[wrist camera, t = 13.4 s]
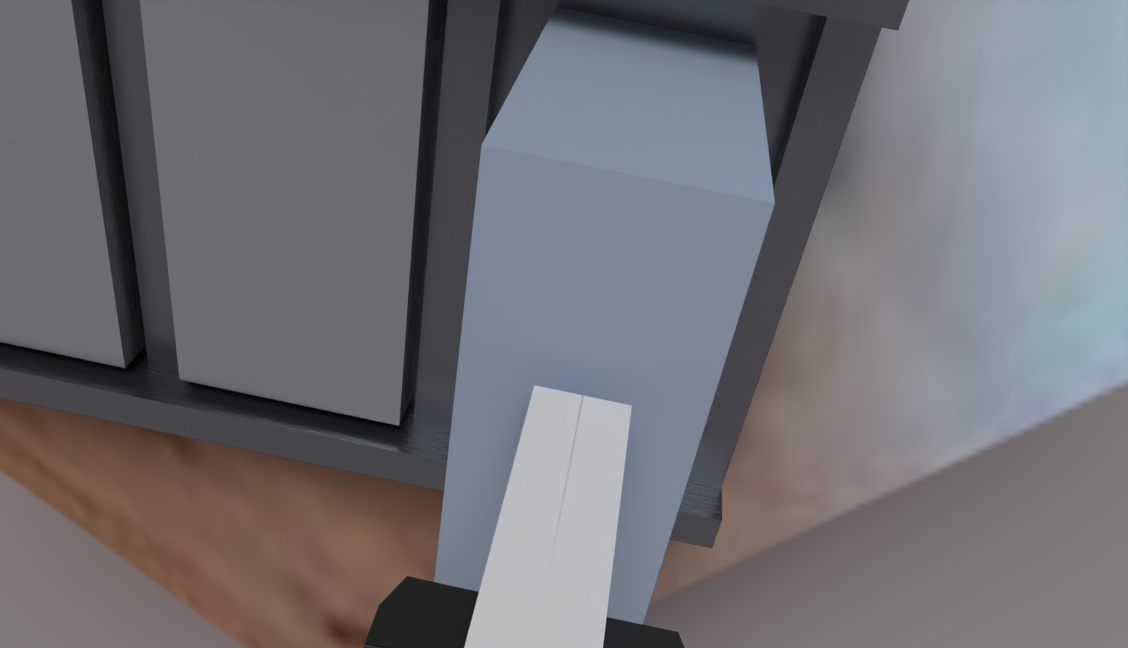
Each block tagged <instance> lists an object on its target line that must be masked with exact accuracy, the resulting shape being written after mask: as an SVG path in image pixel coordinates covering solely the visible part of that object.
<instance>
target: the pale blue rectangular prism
mask: <svg viewBox="0 0 1128 648" xmlns="http://www.w3.org/2000/svg"><path fill="white" fill-rule="evenodd" d="M774 205H775V200H774V192H773V183H772V175H771V167H770V159H769V151H768V143H767V134H766V126H765V118H764V110H763V102H762V94H761V85H760V77H759V69H758V61H757V53H756V46H754V45H749V44H744V43H739V42H733V41H728V40H723V39H718V38H713V37H708V36H703V35H697V34H692V33H687V32H682V31H677V30H672V29H667V28H661V27H656V26H651V25H646V24H641V23H636V22H630V21H625V20H620V19H615V18H610V17H605V16H600V15H594V14H589V13H584V12H579V11H574V10H569V9H564V8H558V7H555V9H554V11H553V13H552V14H551V16H550V18H549V20H548V22H547V24H546V26H545V27H544V29H543V31H542V33H541V35H540V37H539V39H538V41H537V42H536V44H535V46H534V48H533V50H532V52H531V54H530V55H529V57H528V59H527V61H526V63H525V65H524V67H523V68H522V70H521V72H520V74H519V76H518V78H517V80H516V82H515V83H514V85H513V87H512V89H511V91H510V93H509V95H508V96H507V98H506V100H505V102H504V104H503V106H502V108H501V109H500V111H499V113H498V115H497V117H496V119H495V121H494V123H493V124H492V126H491V128H490V130H489V132H488V134H487V136H486V137H485V139H484V141H483V143H482V145H481V154H480V164H479V173H478V182H477V191H476V201H475V210H474V219H473V228H472V238H471V247H470V256H469V265H468V275H467V284H466V293H465V302H464V312H463V321H462V330H461V339H460V349H459V358H458V367H457V376H456V386H455V395H454V404H453V414H452V423H451V432H450V441H449V451H448V460H447V469H446V478H445V488H444V497H443V506H442V515H441V525H440V534H439V543H438V552H437V562H436V571H435V580H434V582H436V583H441V584H445V585H450V586H455V587H459V588H464V589H469V590H473V591H478V592H479V590H480V587H481V583H482V579H483V575H484V572H485V568H486V564H487V560H488V557H489V553H490V549H491V545H492V542H493V538H494V534H495V530H496V527H497V523H498V519H499V515H500V512H501V508H502V504H503V500H504V497H505V493H506V489H507V486H508V482H509V478H510V474H511V471H512V467H513V463H514V459H515V456H516V452H517V448H518V444H519V441H520V437H521V433H522V429H523V426H524V422H525V418H526V414H527V411H528V407H529V403H530V399H531V396H532V392H533V388H534V385H536V386H540V387H545V388H550V389H555V390H560V391H564V392H569V393H574V394H579V395H584V396H588V397H593V398H598V399H603V400H608V401H612V402H617V403H622V404H627V405H632V408H631V416H630V425H629V433H628V442H627V450H626V458H625V467H624V475H623V484H622V492H621V500H620V509H619V517H618V525H617V534H616V542H615V551H614V559H613V567H612V576H611V584H610V593H609V601H608V609H607V617H609V618H614V619H619V620H623V621H628V622H633V623H637V624H642V625H643V621H644V618H645V615H646V612H647V609H648V606H649V602H650V599H651V596H652V593H653V590H654V586H655V583H656V580H657V577H658V574H659V571H660V567H661V564H662V561H663V558H664V555H665V551H666V548H667V545H668V542H669V539H670V536H671V532H672V529H673V526H674V523H675V520H676V516H677V513H678V510H679V507H680V504H681V501H682V497H683V494H684V491H685V488H686V485H687V481H688V478H689V475H690V472H691V469H692V466H693V462H694V459H695V456H696V453H697V450H698V446H699V443H700V440H701V437H702V434H703V431H704V427H705V424H706V421H707V418H708V415H709V411H710V408H711V405H712V402H713V399H714V396H715V392H716V389H717V386H718V383H719V380H720V376H721V373H722V370H723V367H724V364H725V361H726V357H727V354H728V351H729V348H730V345H731V341H732V338H733V335H734V332H735V329H736V325H737V322H738V319H739V316H740V313H741V310H742V306H743V303H744V300H745V297H746V294H747V290H748V287H749V284H750V281H751V278H752V275H753V271H754V268H755V265H756V262H757V259H758V255H759V252H760V249H761V246H762V243H763V240H764V236H765V233H766V230H767V227H768V224H769V220H770V217H771V214H772V211H773V208H774Z"/></svg>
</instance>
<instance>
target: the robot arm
mask: <svg viewBox="0 0 1128 648" xmlns="http://www.w3.org/2000/svg"><path fill="white" fill-rule="evenodd" d="M631 408H632V405H627V404H622V403H617V402H612V401H608V400H603V399H598V398H593V397H588V396H584V395H579V394H574V393H569V392H564V391H560V390H555V389H550V388H545V387H540V386H536V385H534V388H533V392H532V396H531V399H530V403H529V407H528V411H527V414H526V418H525V422H524V426H523V429H522V433H521V437H520V441H519V444H518V448H517V452H516V456H515V459H514V463H513V467H512V471H511V474H510V478H509V482H508V486H507V489H506V493H505V497H504V500H503V504H502V508H501V512H500V515H499V519H498V523H497V527H496V530H495V534H494V538H493V542H492V545H491V549H490V553H489V557H488V560H487V564H486V568H485V572H484V575H483V579H482V583H481V587H480V590H479V592H478V591H473V590H469V589H464V588H459V587H455V586H450V585H445V584H441V583H436V582H431V581H427V580H422V579H417V578H413V577H408V576H407V577H406V578H405V579H404V580H403V581H402V582H401V583H400V584H399V585H398V586H397V587H396V588H395V589H394V590H393V591H392V592H391V593H390V595H389V596H388V597H387V598H386V599H385V600H384V601H383V602H382V603H381V604H380V605H379V607H378V610H377V612H376V615H375V618H374V620H373V623H372V626H371V628H370V631H369V634H368V636H367V639H366V642H365V646H364V648H684V646H683V643H682V641H681V638H680V636H679V633H678V632H675V631H670V630H665V629H660V628H656V627H651V626H647V625H642V624H637V623H633V622H628V621H623V620H619V619H614V618H609V617H607V609H608V601H609V593H610V584H611V576H612V567H613V559H614V551H615V542H616V534H617V525H618V517H619V509H620V500H621V492H622V484H623V475H624V467H625V458H626V450H627V442H628V433H629V425H630V416H631Z"/></svg>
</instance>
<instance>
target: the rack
mask: <svg viewBox="0 0 1128 648" xmlns="http://www.w3.org/2000/svg"><path fill="white" fill-rule="evenodd" d="M908 1H909V0H0V398H5V399H9V400H14V401H19V402H23V403H28V404H33V405H38V406H42V407H47V408H52V409H56V410H61V411H66V412H71V413H75V414H80V415H85V416H90V417H94V418H99V419H104V420H108V421H113V422H118V423H123V424H127V425H132V426H137V427H142V428H146V429H151V430H156V431H160V432H165V433H170V434H175V435H179V436H184V437H189V438H193V439H198V440H203V441H208V442H212V443H217V444H222V445H227V446H231V447H236V448H241V449H245V450H250V451H255V452H260V453H264V454H269V455H274V456H279V457H283V458H288V459H293V460H297V461H302V462H307V463H312V464H316V465H321V466H326V467H330V468H335V469H340V470H345V471H349V472H354V473H359V474H364V475H368V476H373V477H378V478H382V479H387V480H392V481H397V482H401V483H406V484H411V485H416V486H420V487H425V488H430V489H434V490H439V491H444V488H445V478H446V469H447V460H448V451H449V441H450V432H451V423H452V414H453V404H454V395H455V386H456V376H457V367H458V358H459V349H460V339H461V330H462V321H463V312H464V302H465V293H466V284H467V275H468V265H469V256H470V247H471V238H472V228H473V219H474V210H475V201H476V191H477V182H478V173H479V164H480V154H481V145H482V143H483V141H484V139H485V137H486V136H487V134H488V132H489V130H490V128H491V126H492V124H493V123H494V121H495V119H496V117H497V115H498V113H499V111H500V109H501V108H502V106H503V104H504V102H505V100H506V98H507V96H508V95H509V93H510V91H511V89H512V87H513V85H514V83H515V82H516V80H517V78H518V76H519V74H520V72H521V70H522V68H523V67H524V65H525V63H526V61H527V59H528V57H529V55H530V54H531V52H532V50H533V48H534V46H535V44H536V42H537V41H538V39H539V37H540V35H541V33H542V31H543V29H544V27H545V26H546V24H547V22H548V20H549V18H550V16H551V14H552V13H553V11H554V9H555V7H558V8H564V9H569V10H574V11H579V12H584V13H589V14H594V15H600V16H605V17H610V18H615V19H620V20H625V21H630V22H636V23H641V24H646V25H651V26H656V27H661V28H667V29H672V30H677V31H682V32H687V33H692V34H697V35H703V36H708V37H713V38H718V39H723V40H728V41H733V42H739V43H744V44H749V45H754V46H756V53H757V61H758V69H759V77H760V85H761V94H762V102H763V110H764V118H765V126H766V134H767V143H768V151H769V159H770V167H771V175H772V183H773V192H774V200H775V205H774V208H773V211H772V214H771V217H770V220H769V224H768V227H767V230H766V233H765V236H764V240H763V243H762V246H761V249H760V252H759V255H758V259H757V262H756V265H755V268H754V271H753V275H752V278H751V281H750V284H749V287H748V290H747V294H746V297H745V300H744V303H743V306H742V310H741V313H740V316H739V319H738V322H737V325H736V329H735V332H734V335H733V338H732V341H731V345H730V348H729V351H728V354H727V357H726V361H725V364H724V367H723V370H722V373H721V376H720V380H719V383H718V386H717V389H716V392H715V396H714V399H713V402H712V405H711V408H710V411H709V415H708V418H707V421H706V424H705V427H704V431H703V434H702V437H701V440H700V443H699V446H698V450H697V453H696V456H695V459H694V462H693V466H692V469H691V472H690V475H689V478H688V481H687V485H686V488H685V491H684V494H683V497H682V501H681V504H680V507H679V510H678V513H677V516H676V520H675V523H674V526H673V529H672V532H671V536H670V539H671V540H675V541H680V542H685V543H690V544H694V545H699V546H704V547H708V548H712V546H713V543H714V541H715V538H716V535H717V532H718V530H719V527H720V524H721V521H722V488H721V486H722V483H723V480H724V477H725V475H726V472H727V469H728V466H729V463H730V460H731V457H732V455H733V452H734V449H735V446H736V443H737V440H738V437H739V435H740V432H741V429H742V426H743V423H744V420H745V417H746V414H747V412H748V409H749V406H750V403H751V400H752V397H753V394H754V392H755V389H756V386H757V383H758V380H759V377H760V374H761V371H762V369H763V366H764V363H765V360H766V357H767V354H768V351H769V349H770V346H771V343H772V340H773V337H774V334H775V331H776V328H777V326H778V323H779V320H780V317H781V314H782V311H783V308H784V306H785V303H786V300H787V297H788V294H789V291H790V288H791V286H792V283H793V280H794V277H795V274H796V271H797V268H798V265H799V263H800V260H801V257H802V254H803V251H804V248H805V245H806V243H807V240H808V237H809V234H810V231H811V228H812V225H813V222H814V220H815V217H816V214H817V211H818V208H819V205H820V202H821V200H822V197H823V194H824V191H825V188H826V185H827V182H828V179H829V177H830V174H831V171H832V168H833V165H834V162H835V159H836V157H837V154H838V151H839V148H840V145H841V142H842V139H843V137H844V134H845V131H846V128H847V125H848V122H849V119H850V116H851V114H852V111H853V108H854V105H855V102H856V99H857V96H858V94H859V91H860V88H861V85H862V82H863V79H864V76H865V73H866V71H867V68H868V65H869V62H870V59H871V56H872V53H873V51H874V48H875V45H876V42H877V39H878V36H879V33H880V30H881V28H882V27H883V28H888V29H893V30H898V29H899V26H900V24H901V21H902V18H903V15H904V13H905V10H906V7H907V4H908Z"/></svg>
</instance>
